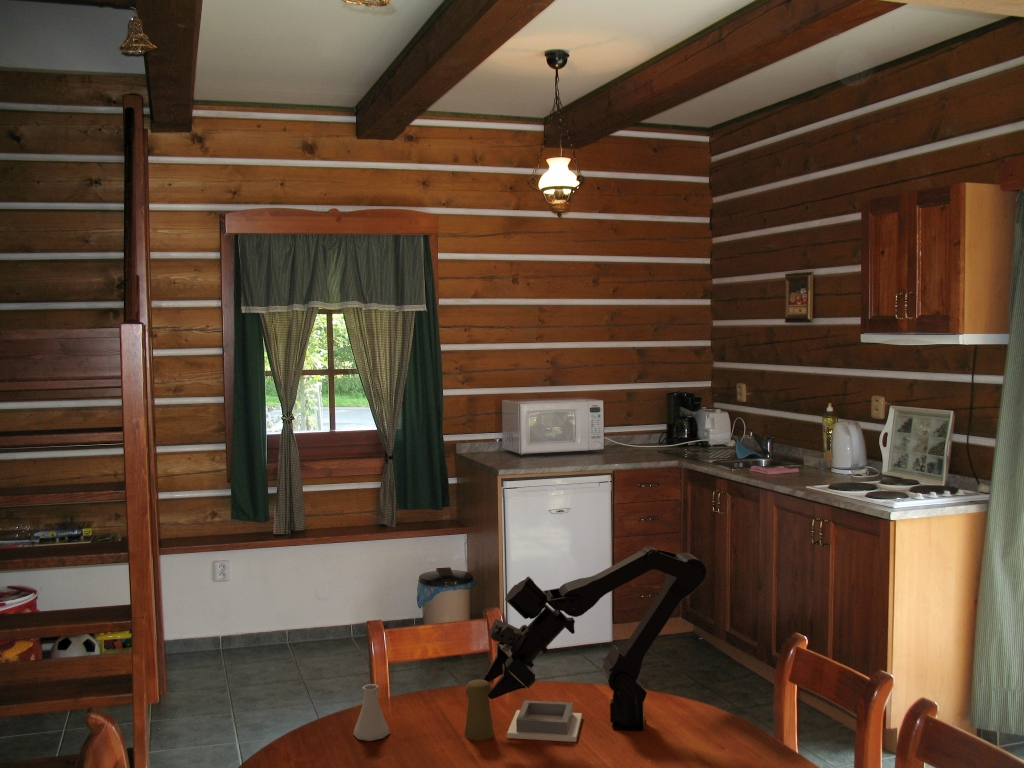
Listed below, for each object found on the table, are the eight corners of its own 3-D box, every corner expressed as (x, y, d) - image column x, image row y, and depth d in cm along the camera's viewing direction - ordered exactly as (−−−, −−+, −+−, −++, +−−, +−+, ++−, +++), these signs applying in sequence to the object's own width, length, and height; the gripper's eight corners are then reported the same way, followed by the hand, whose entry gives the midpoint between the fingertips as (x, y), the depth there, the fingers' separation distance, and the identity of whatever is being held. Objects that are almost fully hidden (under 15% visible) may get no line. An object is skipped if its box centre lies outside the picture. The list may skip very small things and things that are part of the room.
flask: (346, 735, 190) (345, 687, 190) (374, 724, 195) (373, 677, 195) (368, 745, 185) (367, 696, 185) (396, 733, 190) (395, 686, 190)
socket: (581, 717, 197) (581, 701, 196) (575, 741, 185) (575, 724, 185) (517, 714, 199) (516, 698, 199) (507, 737, 187) (506, 720, 187)
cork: (493, 740, 186) (492, 686, 186) (463, 740, 186) (462, 687, 186) (494, 728, 192) (493, 676, 192) (465, 728, 192) (464, 676, 192)
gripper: (507, 595, 198) (456, 648, 197) (518, 620, 180) (462, 679, 179) (543, 629, 200) (493, 682, 199) (558, 658, 181) (502, 717, 180)
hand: (487, 689), depth 189 cm, fingers open, 9 cm apart
